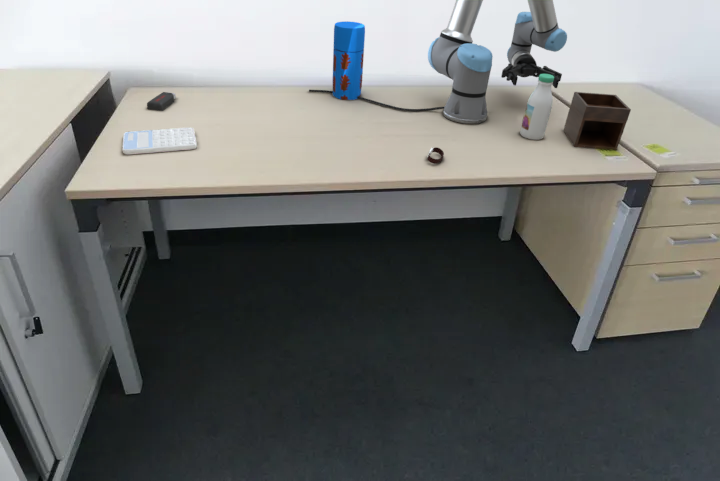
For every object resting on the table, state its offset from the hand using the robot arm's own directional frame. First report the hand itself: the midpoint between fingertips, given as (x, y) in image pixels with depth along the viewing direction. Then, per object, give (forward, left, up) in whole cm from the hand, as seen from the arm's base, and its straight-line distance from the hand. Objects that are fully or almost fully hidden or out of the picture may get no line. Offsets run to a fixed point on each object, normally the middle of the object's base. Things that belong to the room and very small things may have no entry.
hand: (536, 82), depth 176 cm
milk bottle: (-2, -9, -15) cm, 18 cm away
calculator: (-119, -17, -15) cm, 121 cm away
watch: (-39, -28, -15) cm, 50 cm away
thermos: (-60, +27, -15) cm, 68 cm away
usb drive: (-124, +15, -15) cm, 126 cm away
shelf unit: (+17, -13, -15) cm, 26 cm away
